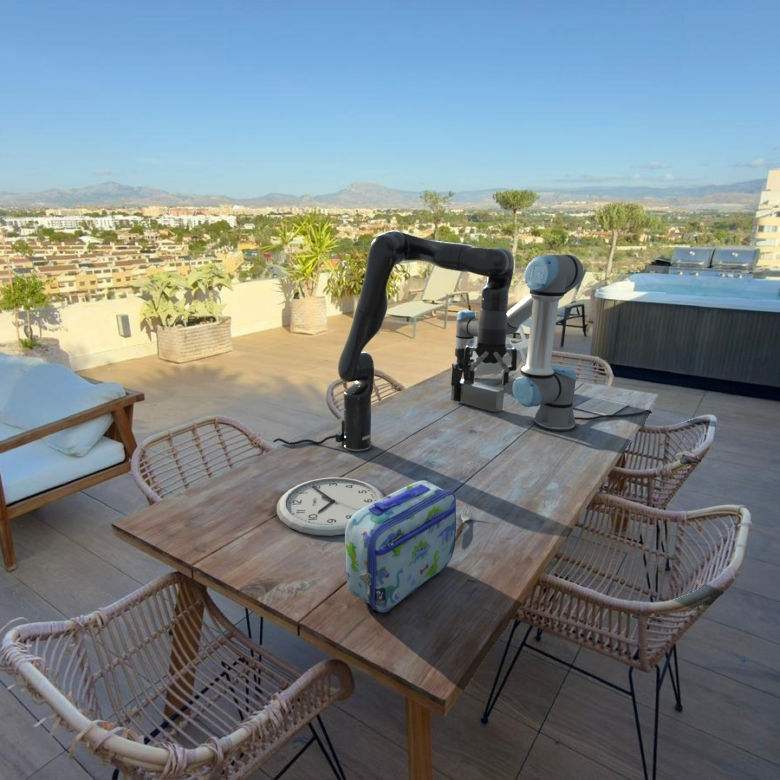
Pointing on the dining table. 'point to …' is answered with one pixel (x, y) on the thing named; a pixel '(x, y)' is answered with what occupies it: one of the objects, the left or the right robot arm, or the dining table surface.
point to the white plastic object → (497, 368)
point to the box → (480, 395)
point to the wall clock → (325, 504)
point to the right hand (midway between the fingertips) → (461, 399)
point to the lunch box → (399, 543)
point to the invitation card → (601, 406)
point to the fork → (464, 518)
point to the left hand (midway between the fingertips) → (488, 384)
